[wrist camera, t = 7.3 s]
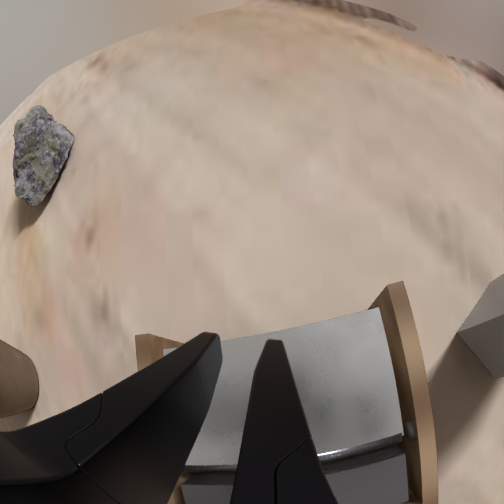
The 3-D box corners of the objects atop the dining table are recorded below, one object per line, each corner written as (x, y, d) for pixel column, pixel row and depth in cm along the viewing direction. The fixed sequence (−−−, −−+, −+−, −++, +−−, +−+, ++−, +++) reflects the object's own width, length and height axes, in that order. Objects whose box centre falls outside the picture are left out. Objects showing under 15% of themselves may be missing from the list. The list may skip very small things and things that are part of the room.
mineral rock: (43, 216, 32) (-8, 176, 23) (18, 200, 35) (-24, 166, 26) (96, 138, 35) (57, 90, 26) (62, 134, 39) (28, 96, 30)
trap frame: (412, 482, 14) (438, 509, 9) (202, 513, 16) (172, 542, 11) (382, 303, 20) (402, 280, 15) (173, 345, 22) (135, 335, 17)
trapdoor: (401, 483, 12) (413, 498, 10) (203, 510, 14) (186, 526, 11) (372, 313, 17) (382, 303, 14) (175, 351, 18) (154, 347, 16)
